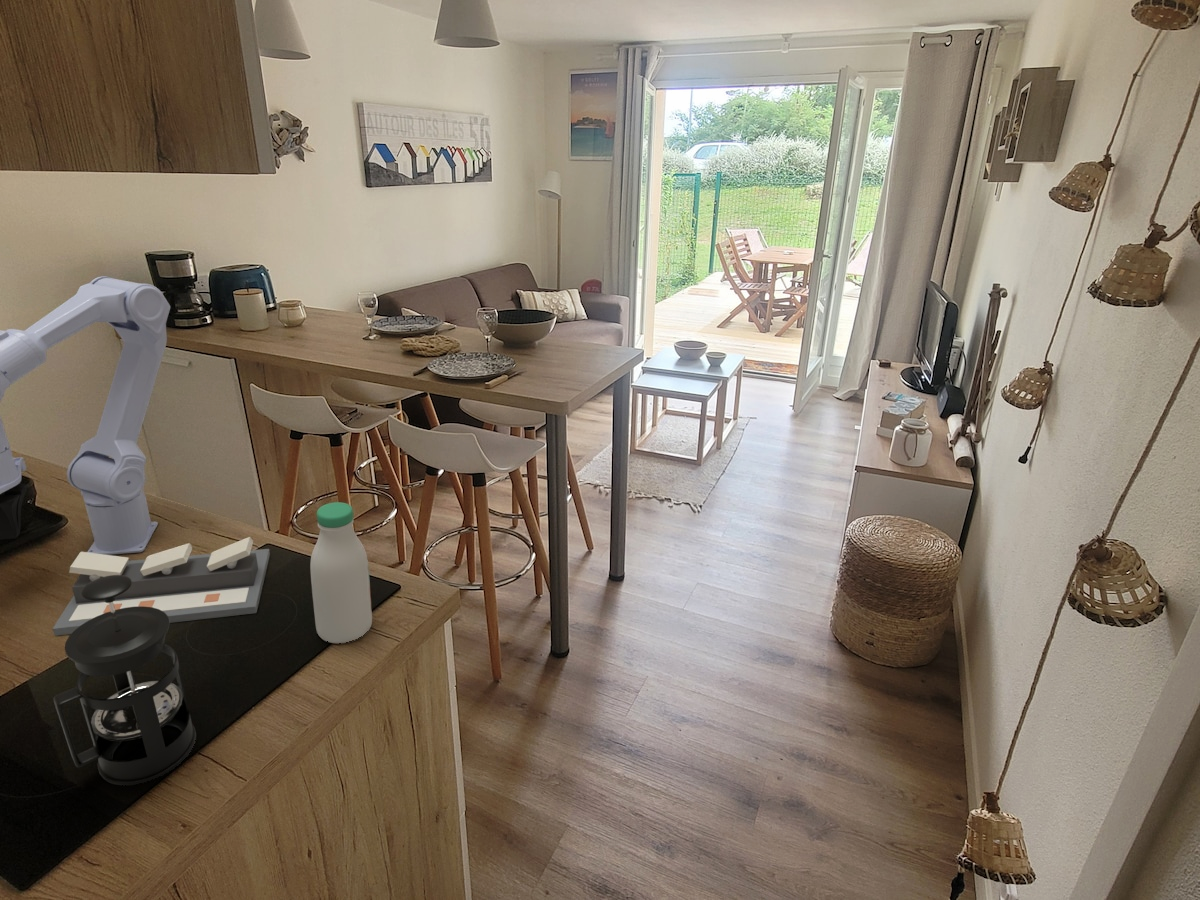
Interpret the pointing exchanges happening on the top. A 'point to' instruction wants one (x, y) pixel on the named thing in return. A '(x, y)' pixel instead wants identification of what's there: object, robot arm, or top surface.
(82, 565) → the switch near
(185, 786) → the top surface
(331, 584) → the milk bottle
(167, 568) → the switch middle
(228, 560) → the switch far
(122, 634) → the french press
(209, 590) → the switch panel
